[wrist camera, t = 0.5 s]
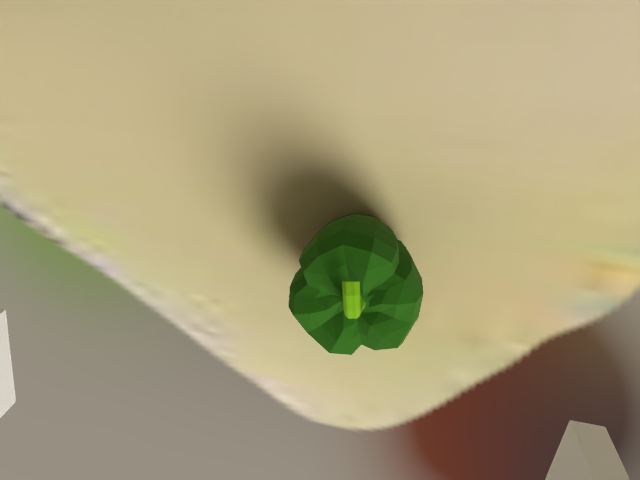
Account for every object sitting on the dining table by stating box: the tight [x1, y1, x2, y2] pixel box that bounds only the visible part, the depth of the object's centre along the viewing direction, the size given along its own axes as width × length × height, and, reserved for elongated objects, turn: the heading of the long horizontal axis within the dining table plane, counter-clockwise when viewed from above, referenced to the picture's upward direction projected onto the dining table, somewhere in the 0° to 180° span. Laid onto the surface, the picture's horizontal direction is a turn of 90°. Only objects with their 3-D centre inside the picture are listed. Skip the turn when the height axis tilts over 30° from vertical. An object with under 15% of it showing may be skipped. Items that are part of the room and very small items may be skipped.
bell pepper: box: [289, 214, 423, 355], centre depth 37 cm, size 8×8×10 cm
